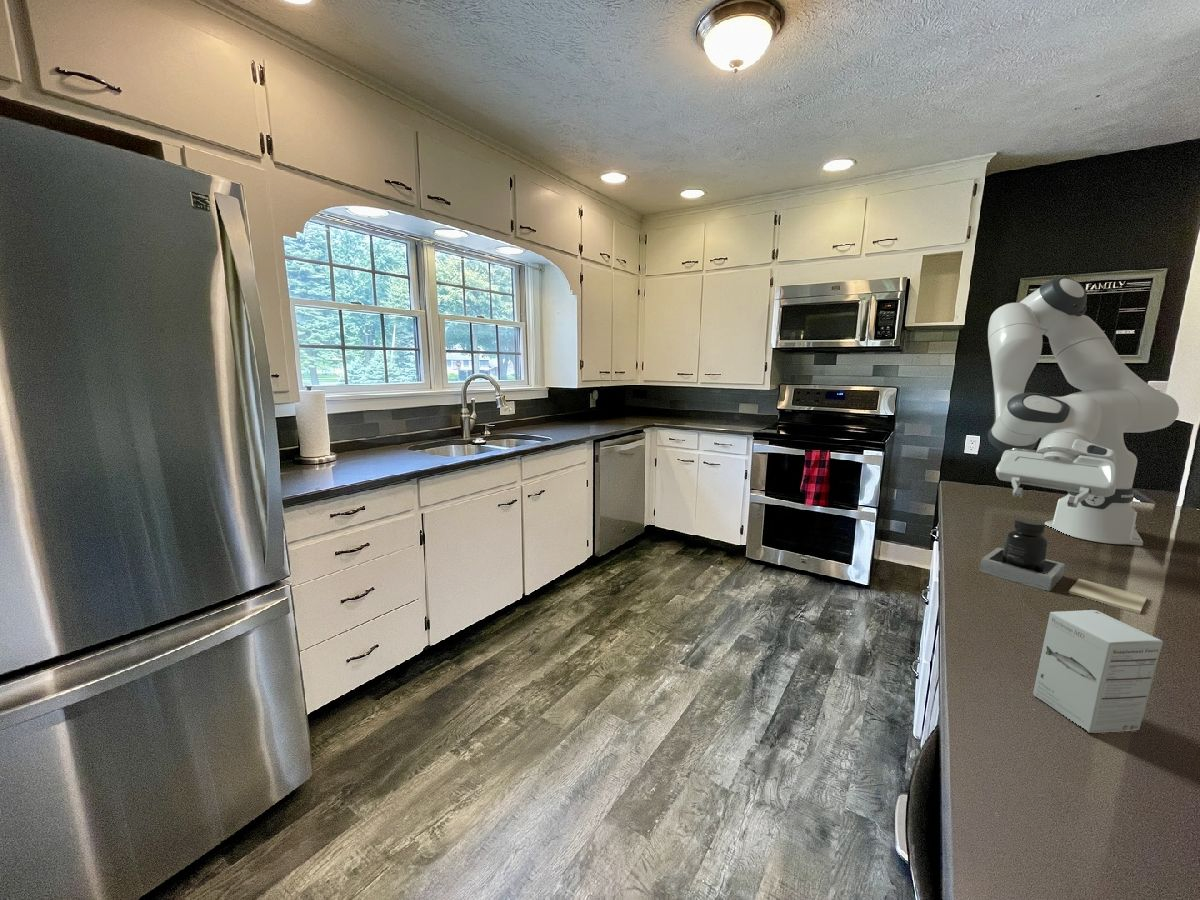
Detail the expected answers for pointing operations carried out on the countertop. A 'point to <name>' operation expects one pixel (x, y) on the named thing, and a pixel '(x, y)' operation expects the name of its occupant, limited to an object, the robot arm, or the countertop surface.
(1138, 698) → the supplement box
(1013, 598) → the countertop surface
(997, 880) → the countertop surface
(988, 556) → the steel holder
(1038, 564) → the supplement bottle
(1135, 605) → the birch pad
